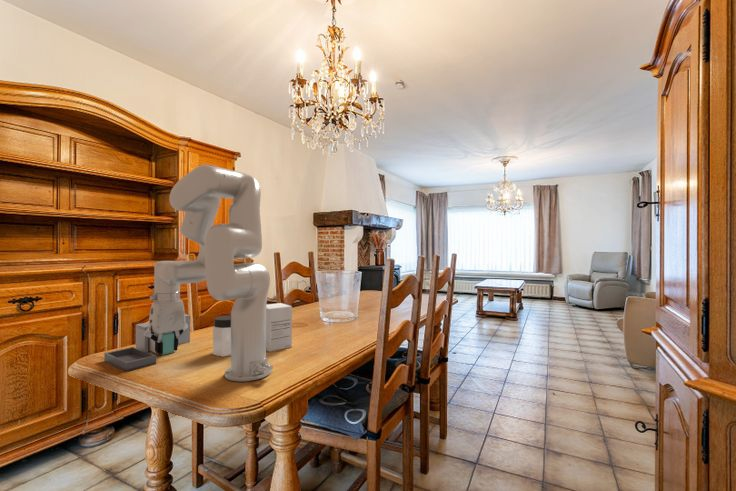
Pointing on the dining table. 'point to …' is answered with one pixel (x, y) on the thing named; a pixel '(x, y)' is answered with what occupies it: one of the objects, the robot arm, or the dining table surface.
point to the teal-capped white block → (167, 343)
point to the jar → (222, 336)
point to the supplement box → (278, 326)
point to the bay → (143, 340)
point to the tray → (130, 358)
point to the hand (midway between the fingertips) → (166, 351)
